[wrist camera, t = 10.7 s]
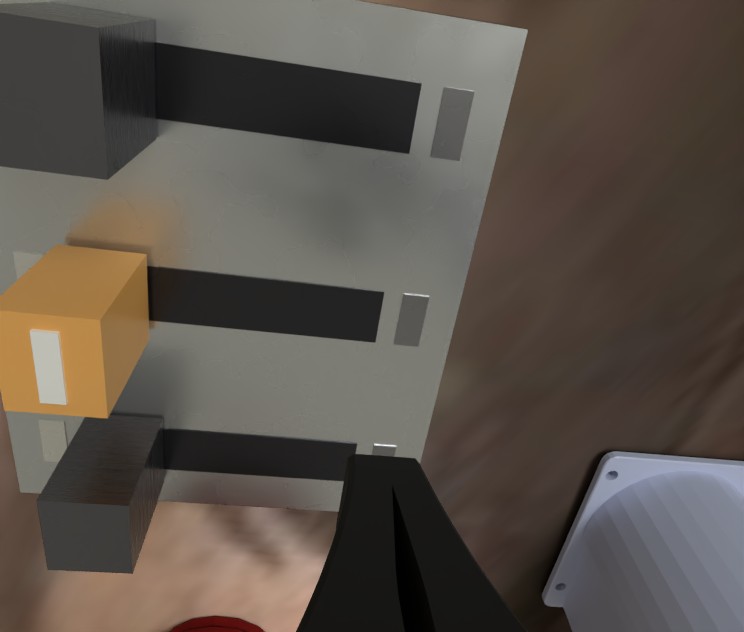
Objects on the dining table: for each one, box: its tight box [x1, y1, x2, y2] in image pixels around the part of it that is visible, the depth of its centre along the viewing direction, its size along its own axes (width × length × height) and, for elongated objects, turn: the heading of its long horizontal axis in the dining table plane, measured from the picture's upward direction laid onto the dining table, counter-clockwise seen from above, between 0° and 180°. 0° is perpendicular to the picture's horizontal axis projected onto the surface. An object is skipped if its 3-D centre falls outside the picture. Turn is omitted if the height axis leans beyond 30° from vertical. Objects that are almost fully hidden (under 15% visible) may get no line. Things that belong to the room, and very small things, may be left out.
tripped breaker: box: [0, 244, 149, 418], centre depth 15 cm, size 3×2×4 cm
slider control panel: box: [0, 0, 528, 573], centre depth 17 cm, size 17×14×6 cm
